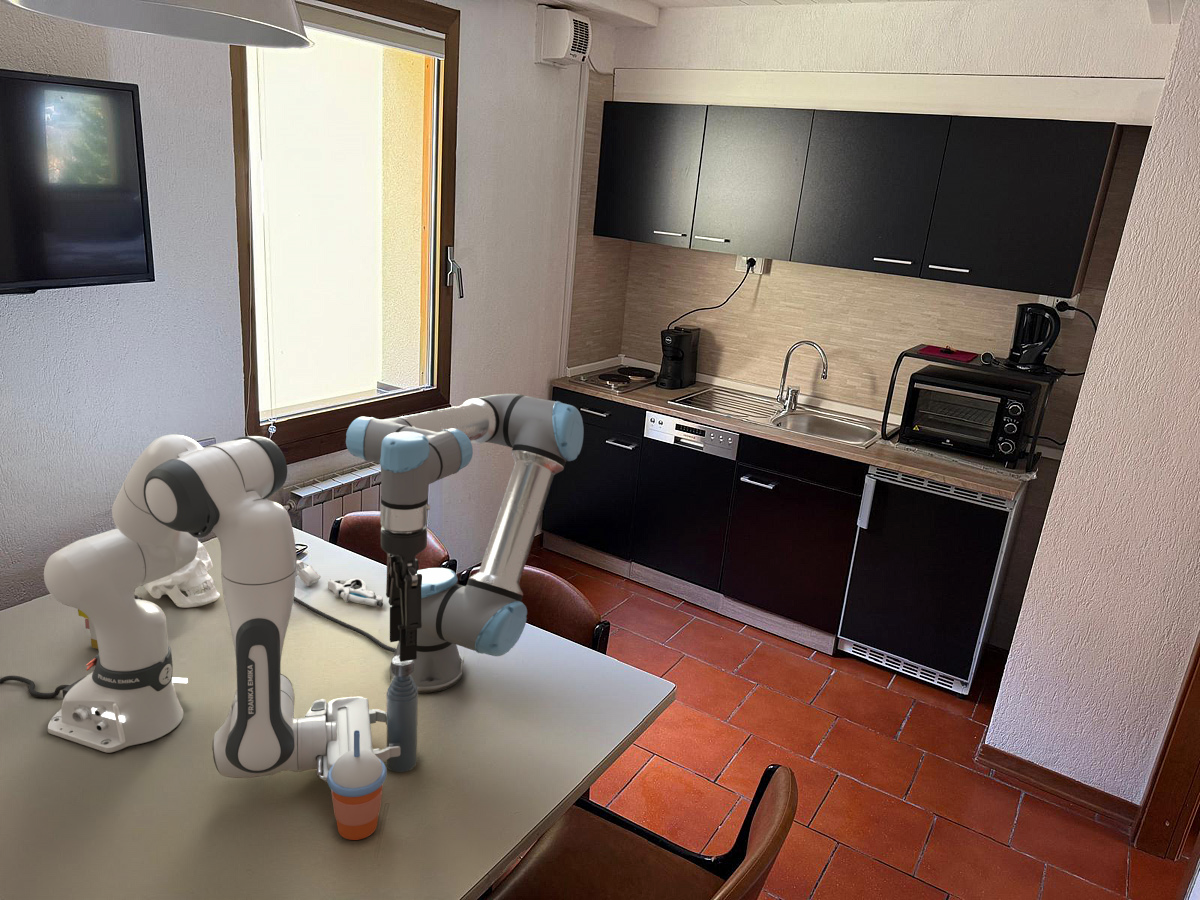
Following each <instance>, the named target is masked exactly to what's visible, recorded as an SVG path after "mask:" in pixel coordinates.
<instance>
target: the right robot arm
mask: <svg viewBox="0 0 1200 900" xmlns="http://www.w3.org/2000/svg"><path fill="white" fill-rule="evenodd" d="M583 421H584V420H583V417H582V415H581V413H580V410H578V408H577V407H576V406H574V405H571V404H569V403H568V404H567V403H563V402H561V401H559V400H556V401H555V400H549V399H543V398H540V397H539V398H538V397H534V396H528V395H523V394H519V393H499V394H492V395H486V396H480V397H479V396H478V397H474V398H473V397H472V398H469V399H467V400H465V401H464V402H463V403H462V404H460V405H458V406H456V405H455V406H451V407H447V408H441V409H436V410H431V411H424V412H420V413H415V414H409V415H404V416H403V415H402V416H399V417H391V418H385V419H379V418H376V417H373V416H371V417H369V416H359V417H357V418H354V420H352V421H351V423H350V424H349V426H348V428H347V430H346V434H345V436H346V438H345V444H346V449H347V451H348V453H350V455H352V456H353V457H356V458H359V459H363V460H364V461H365V462H372V463H377V464H379V466H380V491H381V493H380V502H379V503H380V504H379V507H380V508H379V509H380V510H379V512H380V517H379V518H380V519H379V523H380V526H381V527H380V548H381V550H382V551H383V552H385V553H386V588H385V590H386V591H385V596H386V598H387V599H388V605H389V606H390V607H389V642H390V643H395V642H398V643H397V645H396V648H395V647H393V646H389V645H387V644H385V643H383V642H382V641H380V640H379V639H377V638H376V637H375V636H373V635H372V634H370V633H368V632H367V631H365V630H364V629H363V630H362V629H361V628H359V627H357V626H354V625H351V624H350V623H347V622H345V621H342V620H341V619H338V618H336V617H333V616H332V615H329V614H327V613H325V612H323V611H321V610H319V609H318V608H315V607H313V606H312V605H310V604H308V603H306V602H305V601H303V600H301V599H300V598H298V597H296V596H295V595H294V600H293V602H294V603H296V604H298V605H300V606H301V607H302V608H305V609H307V610H308V611H310V612H312V613H314V614H315V615H318V616H320V617H321V618H323V619H326V620H327V621H330V622H331V623H335V624H337V625H339V626H341V627H343V628H346V629H348V630H350V631H353V632H354V633H357V634H360V635H361V636H363V637H365V638H367V639H368V640H369V641H371V642H372V643H374V644H375V645H376V646H378V647H379V648H381V649H383V650H385V651H387V652H390V653H393V656H392V658H393V657H394V656H396V655H400V661H401V662H403V661H408V660H414V671H413V673H412V674H411V676H412V679H413V681H414V682H415V685H416V686H417V690H418V694H430V693H431V694H432V693H438V692H441V691H445V690H447V689H450V688H451V687H453V686H455V685H456V684H457V683H458V682H459V681H460V680H461V679H462V676H463V672H464V663H465V657H463V658H462V657H461V656H460V653H459V649H458V646H459V647H461V648H466V649H469V650H472V651H475V652H476V653H478V654H482V655H483V654H485V655H488V656H492V657H501V656H503V655H505V654H507V653H509V652H510V651H511V649H512V648H514V646H516V644H517V643H518V642H519V640H520V638H521V637H522V634H523V632H524V629H525V627H526V623H527V619H528V617H527V615H528V609H527V606H526V604H524V603H523V601H522V600H523V596H524V592H523V590H522V588H521V586H520V582H521V580H522V576H523V573H524V569H525V568H526V567H525V566H526V563H527V560H528V557H529V554H530V551H531V548H532V544H533V542H534V539H535V536H536V532H537V529H538V526H539V523H540V520H541V517H542V514H543V512H544V511H543V510H544V508H545V505H546V501H547V498H548V496H549V493H550V490H551V487H552V483H553V480H554V477H555V475H557V474H559V473H561V472H563V471H564V469H565V466H566V463H567V462H571V461H575V460H576V459H577V458H578V456H579V455H580V453H581V451H582V448H583V443H584V433H585V431H584V422H583ZM483 443H490V444H495V445H499V446H503V447H508V448H511V452H510V454H511V457H512V458H513V460H514V466H513V468H512V471H511V474H510V477H509V481H508V484H507V487H506V489H505V493H504V495H503V499H502V502H501V504H500V507H499V510H498V513H497V517H496V519H495V523H494V526H493V528H492V531H491V535H490V538H489V541H488V543H487V546H486V548H485V551H484V555H483V558H482V561H481V564H480V567H479V570H478V571H477V572H476V573H474V574H472V575H471V576H469V577H468V580H467V583H466V585H462V584H459V583H458V580H459V579H458V575H457V574H456V572H455V571H454V570H452V569H450V568H445V567H428V568H423V569H419V559H417V558H416V557H417V555H418V554H420V553H422V552H424V551H425V550H426V548H427V546H428V527H427V524H428V511H430V510H431V505H430V504H428V502H429V499H428V498H429V495H428V494H429V485H430V484H433V483H435V482H437V481H439V480H442V479H444V478H446V477H450V476H451V475H455V474H457V473H459V471H461V470H463V469H464V468H466V467H467V466H468V465H469V464H470V462H471V461H472V458H473V454H474V450H473V444H478V445H479V444H483ZM391 663H392V660H390V666H389V679H390V681H392V680H393V677H394V676H395V675H393V674H392V671H391Z"/></svg>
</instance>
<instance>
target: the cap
mask: <svg viewBox="0 0 1200 900" xmlns="http://www.w3.org/2000/svg"><path fill="white" fill-rule="evenodd" d="M393 656H394V655H393ZM393 656H392V658H391V661H392V663H391V662H390V665H391V671H392V674H393V675H395V676H398V677H405V676H409V675H411V674H412V673H413V671H414V660H408V661H403V662H401V661H400V655H396V656H394V657H393Z"/></svg>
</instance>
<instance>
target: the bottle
mask: <svg viewBox="0 0 1200 900" xmlns="http://www.w3.org/2000/svg"><path fill="white" fill-rule="evenodd" d="M386 712H387V725H386V747H385V748H387V747H389V744H390V743H399V744H400V756H397V757H390V758H389V759H387V760H385V762H386V763H385V765H386V768H388V770H389V771H392V772H396V773H404V772H408V771H410V770H412V769H414V768H415V767H416V766H417V763H418V726H419V725H418V724H419V723H418V721H419V719H418V717H419V693H418V690H417V686H416V685H415V682H414V681H413V679H412V676H411V675H409V676H405V677H398V676H394V677H393V680H391V682H390V684H389V686H388V688H387V691H386Z"/></svg>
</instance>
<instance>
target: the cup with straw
mask: <svg viewBox="0 0 1200 900" xmlns="http://www.w3.org/2000/svg"><path fill="white" fill-rule="evenodd" d="M387 773H388V771H387V766H386V763H384V762H382V761H381V760H380V759H379V758H378V757H377V756H376V755H375V754H374V753H372V752H370V751H368V750H364V749H360V731H358V730H356V731H354V750H351V751H348V752H346V753H345V754H343V755H342V756H341V757H340V758H339V759H338V760H337V761H336V762H335V763H334V764H333V765H332V767H331V768H330V770H329V772H328V775H327V781H326V782H327V785H328V787H329V789H330V790H331V799H332V806H333V813H334V814H333V815H334V817H335V821H336V828H337V832H338V834H339V835H340V836H341V837H342V838H344V839H346V840H351V841H359V840H362V839H365V838H368V837H370V836H371V835H372V834H373V833H374V832H375V831H376V830H377V827H378V821H379V813H380V812H381V805H382V796H383V788H384V787H383V786H384V785H383V784H384V783H385V782H386V778H387Z"/></svg>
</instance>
